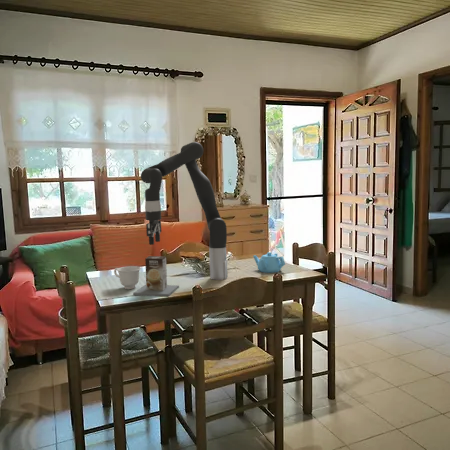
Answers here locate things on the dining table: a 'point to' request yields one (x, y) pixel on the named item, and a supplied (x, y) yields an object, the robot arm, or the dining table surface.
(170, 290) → the mat
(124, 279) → the teacup
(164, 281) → the coffee box
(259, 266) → the teapot
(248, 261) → the dining table surface
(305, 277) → the dining table surface
